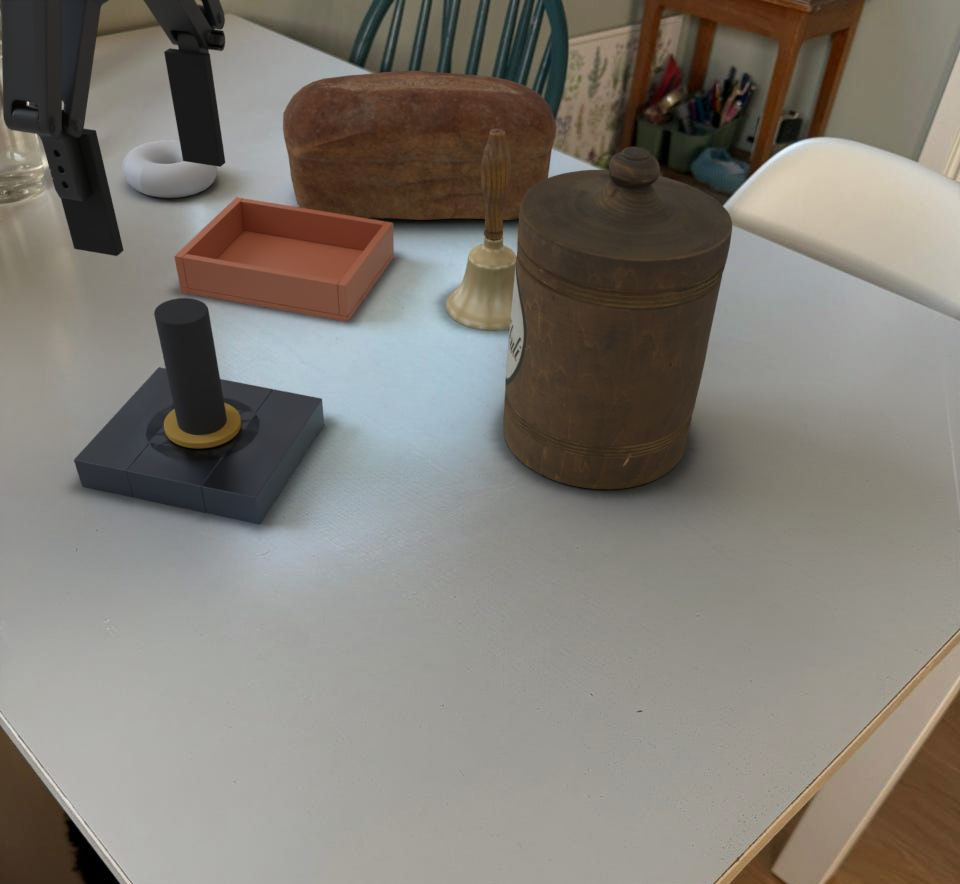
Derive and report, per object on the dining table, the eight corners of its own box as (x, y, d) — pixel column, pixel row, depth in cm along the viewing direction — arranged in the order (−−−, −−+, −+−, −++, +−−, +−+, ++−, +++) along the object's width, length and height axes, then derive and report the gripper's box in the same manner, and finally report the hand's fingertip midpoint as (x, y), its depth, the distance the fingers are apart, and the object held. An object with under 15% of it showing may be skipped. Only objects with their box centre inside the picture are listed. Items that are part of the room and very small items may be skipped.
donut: (231, 172, 112) (145, 161, 112) (227, 140, 109) (140, 129, 110) (202, 209, 105) (111, 197, 105) (197, 176, 102) (104, 164, 103)
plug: (158, 469, 74) (123, 323, 65) (191, 427, 78) (162, 285, 69) (227, 483, 73) (201, 338, 64) (257, 441, 77) (236, 298, 68)
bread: (555, 231, 105) (568, 108, 96) (288, 231, 102) (275, 104, 93) (537, 178, 114) (547, 61, 105) (292, 176, 111) (281, 55, 102)
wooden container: (563, 365, 87) (597, 94, 71) (715, 427, 81) (788, 149, 65) (465, 443, 78) (477, 155, 62) (627, 517, 73) (686, 223, 57)
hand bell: (516, 339, 89) (531, 157, 78) (432, 319, 91) (434, 138, 79) (544, 298, 95) (562, 122, 83) (464, 280, 96) (470, 105, 85)
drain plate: (82, 487, 72) (73, 459, 70) (164, 393, 81) (158, 366, 79) (259, 525, 70) (255, 497, 68) (324, 424, 79) (322, 398, 77)
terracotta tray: (181, 292, 92) (173, 255, 90) (240, 231, 101) (236, 196, 99) (347, 322, 90) (345, 285, 87) (394, 257, 99) (393, 222, 96)
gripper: (-28, -225, 36) (108, 306, 52) (249, -274, 53) (289, 139, 69) (-202, -241, 38) (-19, 284, 53) (123, -284, 54) (190, 124, 70)
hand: (155, 203), depth 61 cm, fingers open, 13 cm apart
